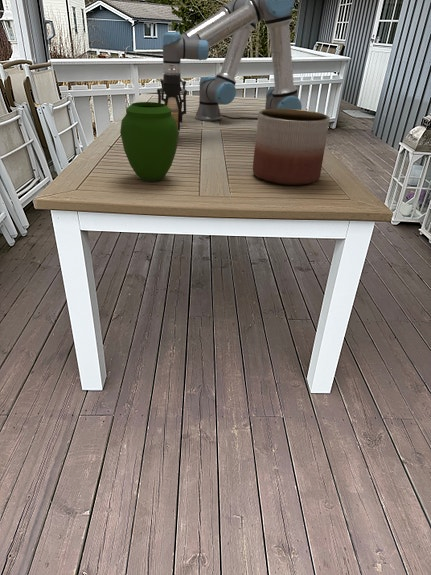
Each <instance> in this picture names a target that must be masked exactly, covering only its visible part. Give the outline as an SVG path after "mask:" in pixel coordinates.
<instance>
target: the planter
mask: <svg viewBox="0 0 431 575" xmlns="http://www.w3.org/2000/svg"><path fill="white" fill-rule="evenodd" d="M257 118H258V119H257V123H256V133H255V134H256V135H255V141H254V142H255V143H254V150H253V151H254V152H253V160H252V173H253V174H254V175H255V176H256V177H257V178H259V179H261V180H263V181H265V182H269V183H271V184H276V185H283V186H302V185H308V184H311V183H314V182H315V181H317V180H319V179H320V177H321V173H322V167H323V166H322V165H323V161H324V154H325V151H326V150H325V149H326V142H327V138H328V131H329V126H330V120H331V119H330V116H329V115H327V114H324V113H321V112H317V111H314V110H313V111H312V110H305V109H301V110H297V109H266V110H265V109H262V110H259V111H258V114H257Z"/></svg>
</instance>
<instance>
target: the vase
mask: <svg viewBox="0 0 431 575" xmlns="http://www.w3.org/2000/svg"><path fill="white" fill-rule="evenodd" d="M125 113H126V114H125V115H124V117H122V119H121V122H120V123H121V124H120V130H119V133H120V138H121V142H122V147H123V150H124V154H125V155H126V158H127V160H128V163H129V165H130V167H131V168H132V170H133V172H134V173H135V175H136V176H137V177H138V178H139V179H141V180H143V181H145V182H159V181H161V180H163V179H164V178H165V176H166V175H167V174H168V173H169V170H170V169H171V167H172V165H173V162H174V159H175V157H176V156H175V155H176V153H177V147H178V140H179V130H178V128H177V123H176V120H175V119H174V118H173V116H172V115H171V109H169V108H168V107H167V106H166V105H165V104H164V103H162V102H161V103H158V102H155V101H138V102H132V103H131V104H130V105H128V107H127V108H125Z"/></svg>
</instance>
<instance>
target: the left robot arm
mask: <svg viewBox="0 0 431 575" xmlns="http://www.w3.org/2000/svg"><path fill="white" fill-rule="evenodd" d="M247 1H248V0H231V1H229V2H227V3H226V4H225V5H223V6H221V7H220V9H219V11H217V12H216V13H214V14H212V15H211V16H209V17H207V18H206V19H204V20H203V21H201V22H200V23H198V24H196V25H195V26H192V27H191V28H190V29H187V31H185V32H183V33H180V32H178V33H179V34H180V35H181V39H188V38H191V37H193V36H195V35H196V34H198V33H199V32H201V31H203V30H204V29H206V28H208V27H209V26H211V25H213V24H214V23H216V22H218V21H219V20H221V19H223V18H224V17H226V16H227V15H229V14H231V13H232V12H234V11H236V10H237V9H239V8H241V7H242V6H244V5H246V4H247ZM260 22H261V21H259V22H257V23H255V22H253V23H251V24H249V25H248V26H246V27H244V28H243V29H241V30H239V31H238V32H236V33H234V34H232V35H231V36H232V37H231V39H230V42H229V45H228V48H227V50H226V54H225V57H224V59H223V63H222V66H221V69H220V71H219V72H218V73H217V74H216V75H215V76H202V77H200V79H199V94H198V95H199V100H198V101H199V103H198V104H199V105H198V107H197V111H196V114H195V119H196V120H199V121H202V122H203V121H204V122H218V121H221V120H222V118H226V119H232V120H258V117H247V116H244V117H243V116H239V117H238V116H237V117H233V116H228V115H224V114H221V110H220V107H219V105H224V106H226V105H229V104H231V103H232V102H233V101H234V100H235V99H236V95H237V90H236V84H237V82H236V79H235V78H236V75H237V72H238V70H239V66H240V65H241V64H240V63H241V61H242V58H243V56H244V53H245V49H246V47H247V44H248V41H249V38H250V35H251V33H252V32H254V31H255V29H256V27H257V24H258V23H260ZM166 33H174V32H173V31H172V32H171V31H170V32H169V31H167V32H166ZM181 61H182V59H181V60H180V63H181ZM179 75H180V76H181V73H180V74H179ZM180 83H181V86H182V89H184V90H186V84H187V81H186V80H183V79H181V80H180ZM160 85H161V88H163V85H164V83H163V79H161V80H160ZM178 97H179V102H180V106H181V110H182V109H183V98H182V94H181V92H180V93H179V95H178ZM165 99H166V97H165V92H164V91H162V94H161V102H163V103H165ZM167 103H168V102H167ZM179 115H180V113H179Z"/></svg>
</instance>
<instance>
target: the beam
mask: <svg viewBox="0 0 431 575" xmlns="http://www.w3.org/2000/svg"><path fill="white" fill-rule="evenodd" d="M178 98H179V97H178ZM167 107H168V108H169V109H171V115H172V116H173V118H174V119H175V120H176V123H177V128H178V115H179V110H178V106H177V102H176V98H173V97H169V99H168V103H167Z"/></svg>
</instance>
